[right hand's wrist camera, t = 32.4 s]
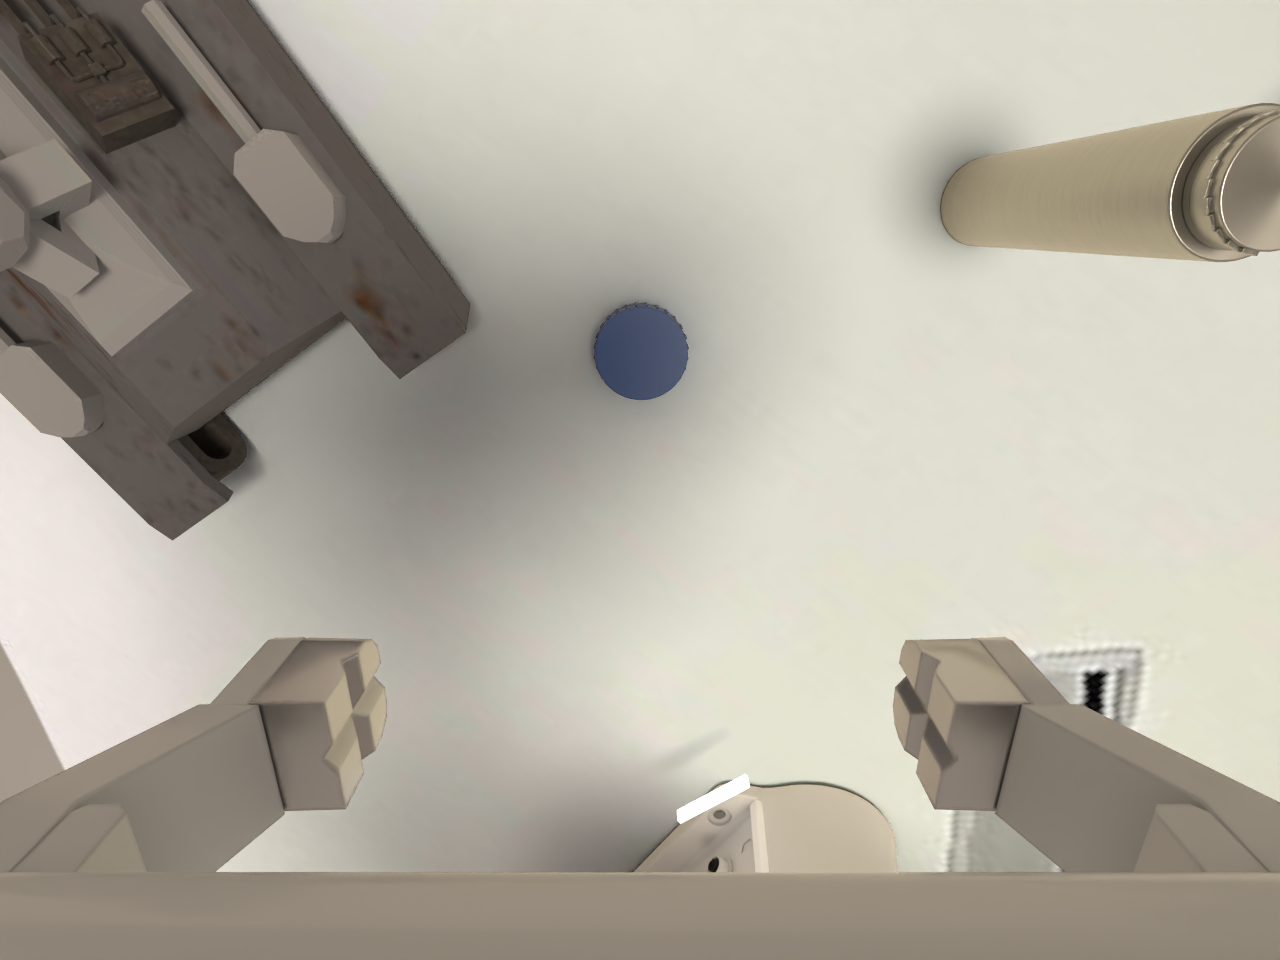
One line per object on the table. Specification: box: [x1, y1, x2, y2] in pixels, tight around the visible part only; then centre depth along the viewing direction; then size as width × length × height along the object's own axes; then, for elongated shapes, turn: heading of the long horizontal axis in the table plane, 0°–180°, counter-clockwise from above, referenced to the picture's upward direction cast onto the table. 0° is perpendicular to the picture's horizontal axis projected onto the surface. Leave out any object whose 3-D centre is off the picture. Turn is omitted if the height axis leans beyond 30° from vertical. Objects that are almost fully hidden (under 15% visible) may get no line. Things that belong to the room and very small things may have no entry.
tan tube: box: [941, 103, 1280, 262], centre depth 27 cm, size 4×4×18 cm
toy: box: [0, 0, 470, 540], centre depth 28 cm, size 25×20×15 cm
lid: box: [594, 302, 689, 400], centre depth 37 cm, size 5×5×2 cm
